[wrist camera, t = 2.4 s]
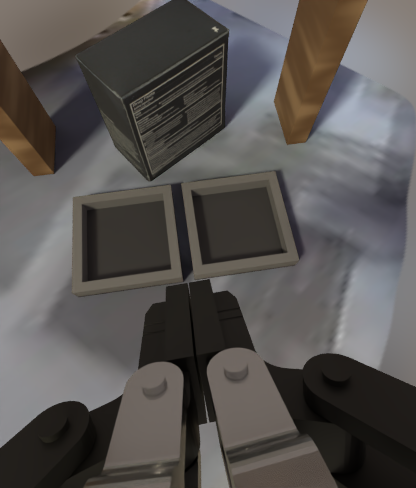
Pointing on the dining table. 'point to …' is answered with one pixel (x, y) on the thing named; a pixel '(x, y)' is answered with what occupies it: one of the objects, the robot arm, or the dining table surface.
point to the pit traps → (166, 239)
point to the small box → (160, 84)
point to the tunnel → (286, 99)
